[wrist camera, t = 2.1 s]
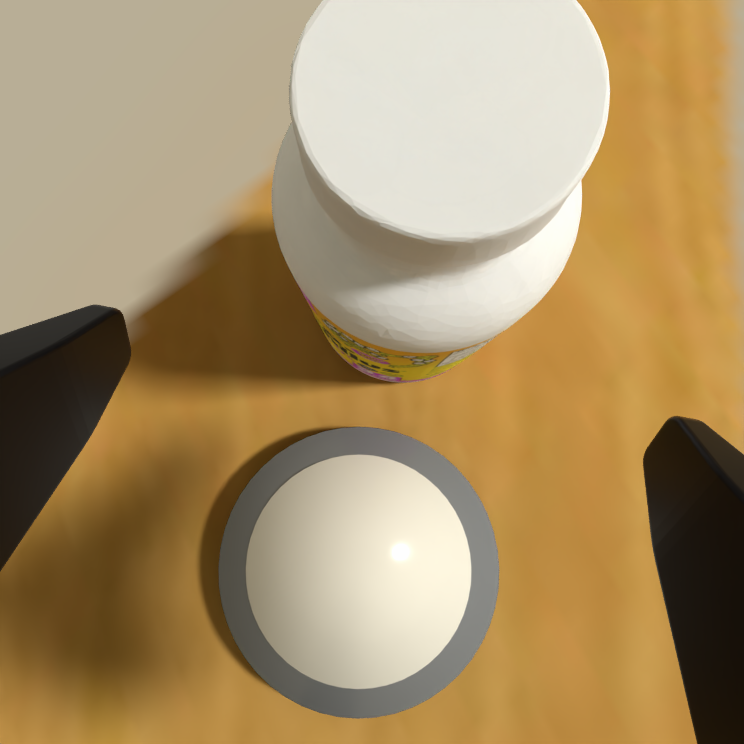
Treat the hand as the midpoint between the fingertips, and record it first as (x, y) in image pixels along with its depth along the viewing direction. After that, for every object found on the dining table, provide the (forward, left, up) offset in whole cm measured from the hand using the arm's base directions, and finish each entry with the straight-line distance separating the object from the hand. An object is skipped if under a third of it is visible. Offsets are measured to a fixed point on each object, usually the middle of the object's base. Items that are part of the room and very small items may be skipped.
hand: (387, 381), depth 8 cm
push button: (-6, -1, -11) cm, 13 cm away
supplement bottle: (+4, 0, -11) cm, 12 cm away
